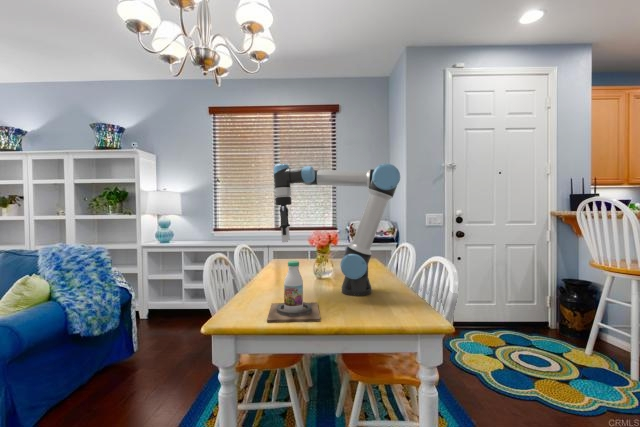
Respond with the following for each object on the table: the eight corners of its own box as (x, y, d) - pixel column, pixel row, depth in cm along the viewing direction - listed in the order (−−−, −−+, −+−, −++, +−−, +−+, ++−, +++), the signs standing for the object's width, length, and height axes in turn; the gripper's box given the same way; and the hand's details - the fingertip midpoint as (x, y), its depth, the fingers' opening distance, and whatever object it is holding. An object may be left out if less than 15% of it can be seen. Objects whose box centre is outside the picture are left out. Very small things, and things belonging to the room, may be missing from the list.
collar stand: (317, 304, 140) (317, 299, 139) (320, 321, 120) (320, 314, 120) (271, 305, 138) (271, 299, 138) (266, 322, 118) (266, 315, 118)
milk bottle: (285, 307, 133) (285, 259, 133) (303, 307, 133) (303, 259, 132) (282, 313, 125) (282, 263, 125) (302, 313, 125) (302, 263, 125)
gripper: (277, 198, 164) (280, 239, 164) (272, 195, 139) (275, 243, 139) (292, 197, 165) (294, 238, 164) (289, 194, 140) (292, 242, 140)
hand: (286, 241), depth 152 cm, fingers open, 13 cm apart
